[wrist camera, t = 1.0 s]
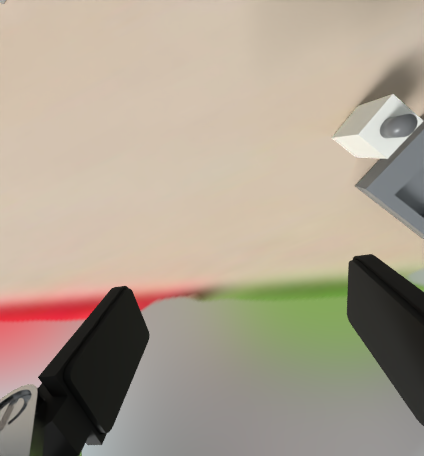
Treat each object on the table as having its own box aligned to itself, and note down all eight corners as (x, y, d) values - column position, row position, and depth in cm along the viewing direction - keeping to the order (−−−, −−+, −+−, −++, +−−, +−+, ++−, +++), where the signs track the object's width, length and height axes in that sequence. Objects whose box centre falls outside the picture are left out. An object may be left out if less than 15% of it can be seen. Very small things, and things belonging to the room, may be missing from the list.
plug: (357, 106, 26) (409, 88, 18) (382, 127, 27) (442, 118, 19) (331, 137, 27) (370, 132, 20) (355, 157, 28) (402, 159, 20)
